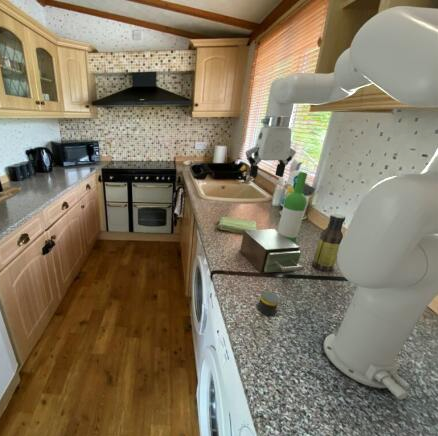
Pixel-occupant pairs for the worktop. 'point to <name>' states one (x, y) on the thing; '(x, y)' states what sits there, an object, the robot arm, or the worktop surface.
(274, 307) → the cap
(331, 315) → the worktop surface
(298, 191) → the wine bottle
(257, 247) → the cabinet
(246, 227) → the washcloth
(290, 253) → the drawer
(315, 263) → the sauce bottle
